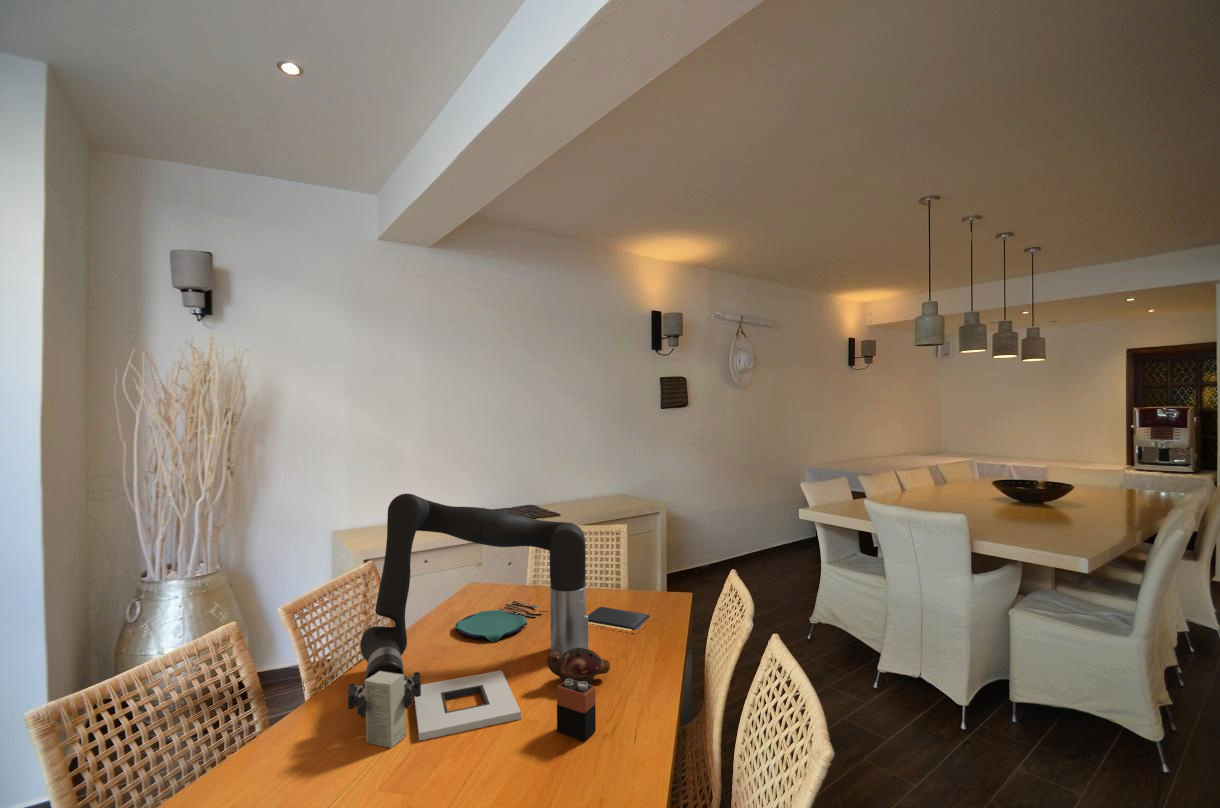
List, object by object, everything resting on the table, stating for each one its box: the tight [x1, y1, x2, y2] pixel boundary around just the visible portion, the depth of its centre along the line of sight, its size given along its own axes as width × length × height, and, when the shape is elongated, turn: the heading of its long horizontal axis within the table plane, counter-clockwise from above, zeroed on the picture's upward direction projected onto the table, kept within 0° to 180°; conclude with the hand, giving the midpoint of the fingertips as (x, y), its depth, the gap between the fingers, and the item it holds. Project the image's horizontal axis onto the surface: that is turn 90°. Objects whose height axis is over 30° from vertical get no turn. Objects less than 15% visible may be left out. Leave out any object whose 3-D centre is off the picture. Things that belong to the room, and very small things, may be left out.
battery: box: [556, 679, 597, 742], centre depth 112 cm, size 4×7×10 cm, turn 59°
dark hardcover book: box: [587, 606, 651, 631], centre depth 170 cm, size 20×2×15 cm
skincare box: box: [364, 671, 407, 749], centre depth 110 cm, size 6×4×12 cm
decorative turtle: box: [546, 648, 611, 685], centre depth 132 cm, size 10×15×8 cm, turn 112°
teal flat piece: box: [455, 600, 539, 643], centre depth 169 cm, size 20×30×2 cm, turn 150°
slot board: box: [413, 670, 522, 742], centre depth 122 cm, size 20×20×2 cm
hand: (385, 707), depth 108 cm, fingers closed on skincare box, 7 cm apart
